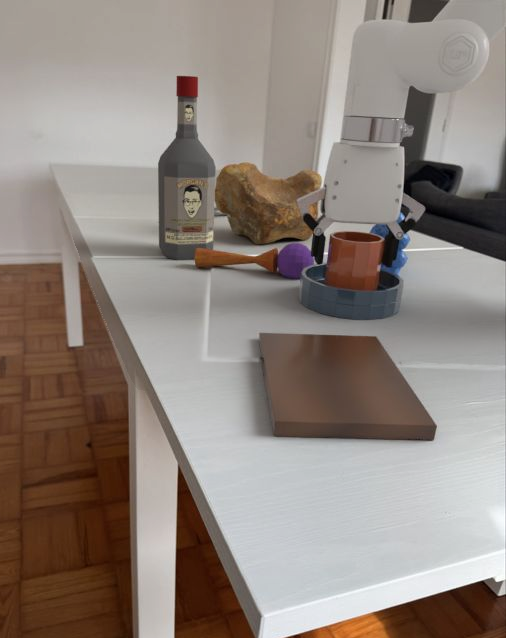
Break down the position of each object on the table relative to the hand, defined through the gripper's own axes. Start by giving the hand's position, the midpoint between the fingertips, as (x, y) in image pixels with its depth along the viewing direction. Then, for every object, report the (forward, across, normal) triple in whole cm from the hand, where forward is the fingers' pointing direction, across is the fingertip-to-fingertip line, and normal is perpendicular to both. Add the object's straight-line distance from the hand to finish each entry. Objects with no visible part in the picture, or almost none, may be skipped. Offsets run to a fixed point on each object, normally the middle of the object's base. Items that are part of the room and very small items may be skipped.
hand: (352, 263), depth 77 cm
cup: (+6, 0, 0) cm, 6 cm away
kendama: (+7, +13, -15) cm, 21 cm away
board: (+6, +7, +25) cm, 27 cm away
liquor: (+7, +25, -27) cm, 37 cm away
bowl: (+6, 0, 0) cm, 6 cm away
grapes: (+6, -9, -17) cm, 20 cm away
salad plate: (+7, +21, -75) cm, 78 cm away
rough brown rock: (+7, +8, -42) cm, 43 cm away
